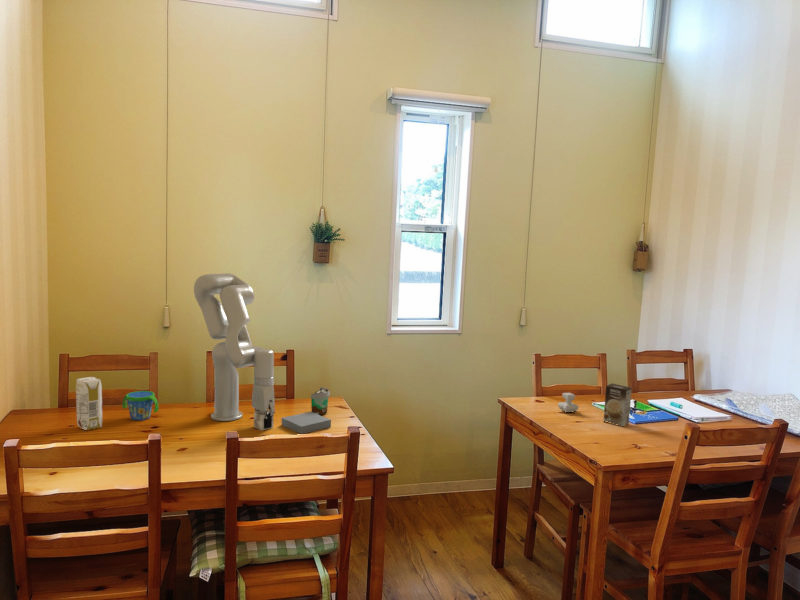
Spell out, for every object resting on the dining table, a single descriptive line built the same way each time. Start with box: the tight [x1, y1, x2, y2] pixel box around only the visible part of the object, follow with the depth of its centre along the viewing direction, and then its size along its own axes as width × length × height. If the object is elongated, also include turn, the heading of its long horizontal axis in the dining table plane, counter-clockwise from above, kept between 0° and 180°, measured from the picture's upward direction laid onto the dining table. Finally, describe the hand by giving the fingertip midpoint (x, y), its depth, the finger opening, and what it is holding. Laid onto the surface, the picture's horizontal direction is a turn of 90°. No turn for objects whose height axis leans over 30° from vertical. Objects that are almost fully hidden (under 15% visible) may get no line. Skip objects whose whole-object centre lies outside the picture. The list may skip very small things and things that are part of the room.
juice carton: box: [75, 376, 103, 431], centre depth 228 cm, size 8×9×19 cm
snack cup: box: [121, 390, 160, 421], centre depth 241 cm, size 16×10×10 cm
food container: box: [310, 386, 331, 416], centre depth 255 cm, size 12×6×10 cm, turn 168°
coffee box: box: [603, 383, 632, 427], centre depth 254 cm, size 9×6×16 cm
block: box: [253, 411, 275, 431], centre depth 235 cm, size 6×6×6 cm
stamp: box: [557, 392, 580, 413], centre depth 269 cm, size 9×7×8 cm
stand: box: [281, 411, 332, 435], centre depth 238 cm, size 14×14×3 cm
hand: (263, 425), depth 235 cm, fingers closed on block, 5 cm apart
